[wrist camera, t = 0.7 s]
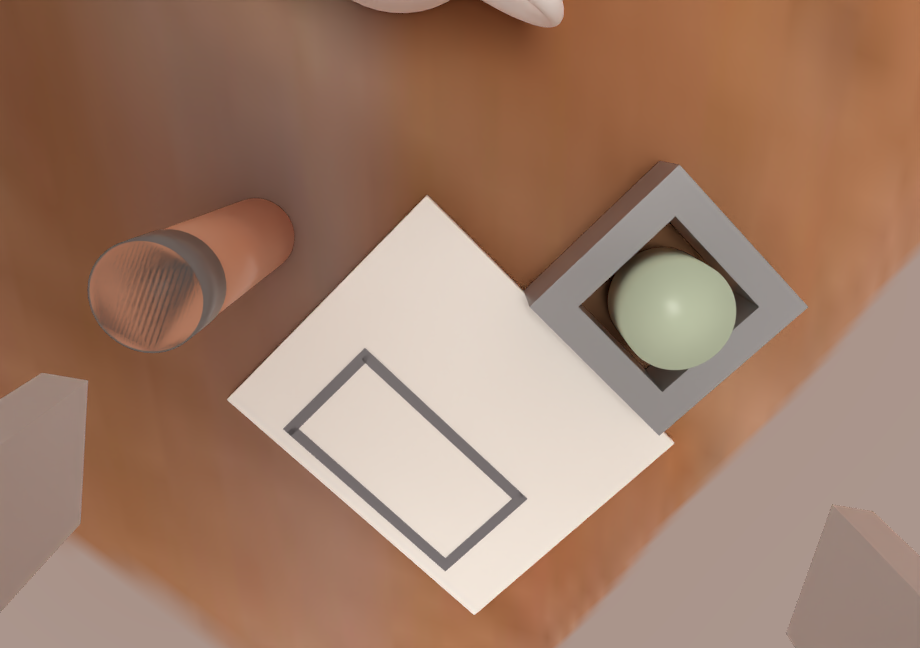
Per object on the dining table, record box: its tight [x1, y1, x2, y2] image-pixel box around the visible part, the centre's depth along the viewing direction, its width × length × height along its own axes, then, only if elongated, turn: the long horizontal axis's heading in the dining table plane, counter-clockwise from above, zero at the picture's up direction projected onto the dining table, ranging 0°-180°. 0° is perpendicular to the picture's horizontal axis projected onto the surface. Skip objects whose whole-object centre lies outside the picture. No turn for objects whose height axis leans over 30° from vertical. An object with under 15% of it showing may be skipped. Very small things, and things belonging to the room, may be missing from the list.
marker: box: [88, 198, 294, 353], centre depth 27 cm, size 3×3×12 cm
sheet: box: [227, 195, 674, 615], centre depth 35 cm, size 16×13×1 cm
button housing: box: [524, 161, 808, 436], centre depth 32 cm, size 8×8×3 cm
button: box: [608, 247, 736, 370], centre depth 30 cm, size 4×4×3 cm
